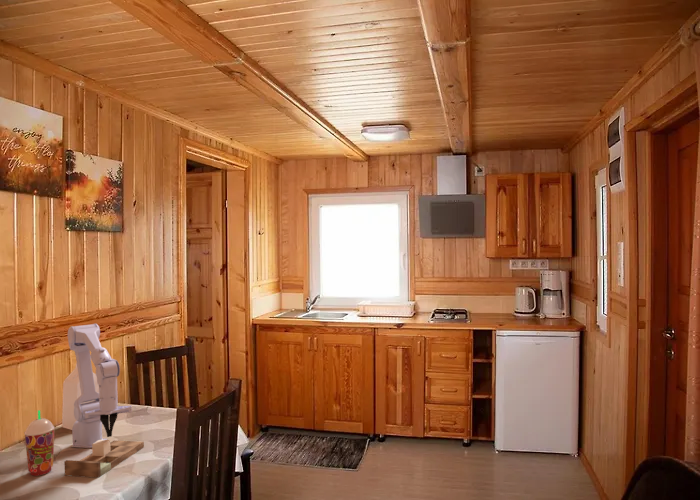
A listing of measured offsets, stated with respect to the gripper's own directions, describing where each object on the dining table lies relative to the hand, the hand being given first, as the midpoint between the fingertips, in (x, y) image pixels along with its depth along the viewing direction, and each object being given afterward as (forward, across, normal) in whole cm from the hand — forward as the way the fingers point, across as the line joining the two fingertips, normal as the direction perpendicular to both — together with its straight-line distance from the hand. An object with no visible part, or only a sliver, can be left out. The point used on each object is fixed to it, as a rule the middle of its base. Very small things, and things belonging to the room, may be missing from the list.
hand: (109, 435), depth 175 cm
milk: (+8, -12, +42) cm, 45 cm away
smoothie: (+8, -20, -3) cm, 22 cm away
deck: (+7, -1, -3) cm, 8 cm away
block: (+5, -2, -1) cm, 6 cm away
